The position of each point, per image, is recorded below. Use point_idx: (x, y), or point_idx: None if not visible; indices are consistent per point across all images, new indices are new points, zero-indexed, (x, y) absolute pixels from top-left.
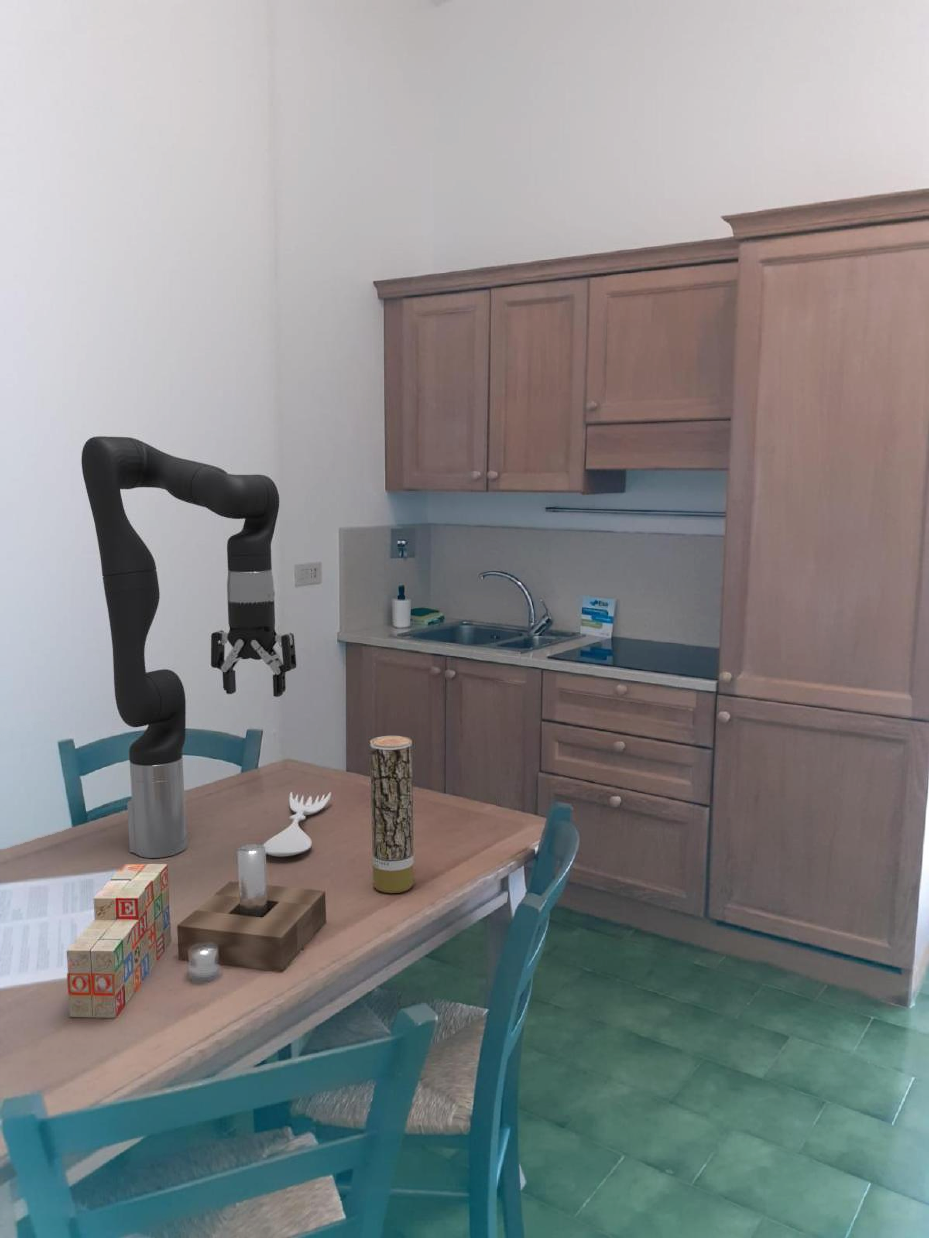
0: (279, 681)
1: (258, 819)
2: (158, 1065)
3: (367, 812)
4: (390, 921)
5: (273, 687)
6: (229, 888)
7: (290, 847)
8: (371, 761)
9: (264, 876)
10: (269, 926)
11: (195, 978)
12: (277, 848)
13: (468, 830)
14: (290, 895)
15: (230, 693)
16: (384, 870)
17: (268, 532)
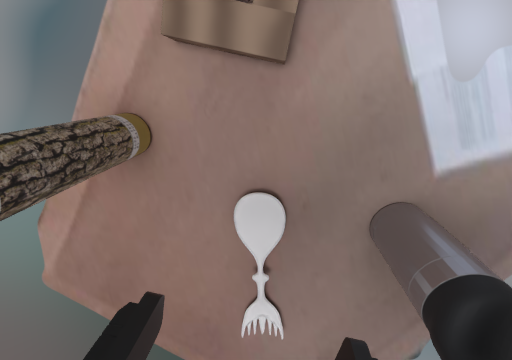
0: (103, 351)
1: (308, 295)
2: None
3: (204, 306)
4: (111, 45)
5: (145, 323)
6: (280, 36)
7: (256, 221)
8: (20, 162)
9: None
10: None
11: None
12: (269, 217)
13: (101, 263)
14: (198, 16)
15: (346, 338)
16: (120, 116)
17: None
